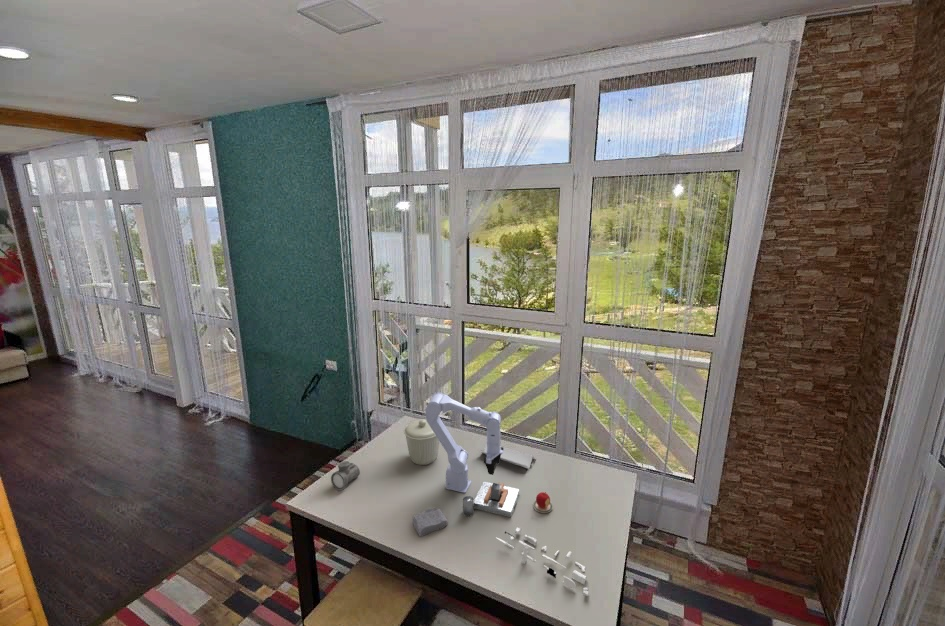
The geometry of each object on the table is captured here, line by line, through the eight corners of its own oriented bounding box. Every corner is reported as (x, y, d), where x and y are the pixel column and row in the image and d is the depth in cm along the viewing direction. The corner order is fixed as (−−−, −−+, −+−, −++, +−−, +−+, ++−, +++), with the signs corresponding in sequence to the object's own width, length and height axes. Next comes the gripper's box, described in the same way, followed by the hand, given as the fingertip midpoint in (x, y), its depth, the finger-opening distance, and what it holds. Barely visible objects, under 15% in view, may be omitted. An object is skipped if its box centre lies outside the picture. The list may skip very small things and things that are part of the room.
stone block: (411, 525, 161) (420, 538, 152) (410, 514, 161) (419, 526, 152) (438, 516, 167) (448, 527, 158) (437, 504, 166) (447, 516, 158)
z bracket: (486, 456, 209) (490, 444, 212) (532, 472, 197) (536, 459, 199) (478, 450, 200) (482, 438, 202) (525, 466, 187) (529, 452, 190)
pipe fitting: (344, 492, 176) (342, 470, 175) (330, 488, 180) (329, 466, 179) (363, 479, 187) (362, 458, 186) (350, 475, 191) (349, 455, 189)
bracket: (483, 501, 167) (483, 499, 167) (492, 483, 178) (492, 481, 178) (502, 506, 165) (502, 503, 165) (510, 487, 176) (510, 485, 176)
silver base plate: (473, 507, 168) (473, 502, 167) (483, 486, 180) (483, 481, 180) (510, 517, 162) (511, 511, 162) (519, 494, 175) (519, 489, 175)
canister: (397, 461, 198) (395, 422, 193) (422, 444, 213) (420, 407, 207) (425, 475, 188) (424, 434, 183) (449, 455, 203) (448, 417, 197)
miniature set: (492, 546, 148) (509, 530, 158) (585, 604, 129) (597, 580, 139) (495, 531, 147) (511, 515, 157) (589, 586, 127) (601, 564, 137)
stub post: (461, 514, 164) (461, 502, 162) (465, 507, 168) (464, 494, 166) (471, 517, 162) (471, 504, 161) (475, 509, 166) (475, 497, 165)
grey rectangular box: (491, 504, 169) (491, 487, 167) (493, 499, 173) (493, 482, 170) (498, 506, 168) (499, 489, 166) (501, 500, 171) (501, 484, 169)
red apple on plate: (553, 501, 171) (554, 488, 169) (551, 515, 163) (552, 501, 162) (534, 498, 173) (534, 485, 171) (531, 511, 165) (532, 498, 164)
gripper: (497, 452, 164) (497, 481, 168) (507, 433, 178) (507, 460, 181) (481, 448, 167) (481, 477, 170) (492, 430, 180) (492, 457, 183)
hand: (493, 468), depth 176 cm, fingers open, 7 cm apart
